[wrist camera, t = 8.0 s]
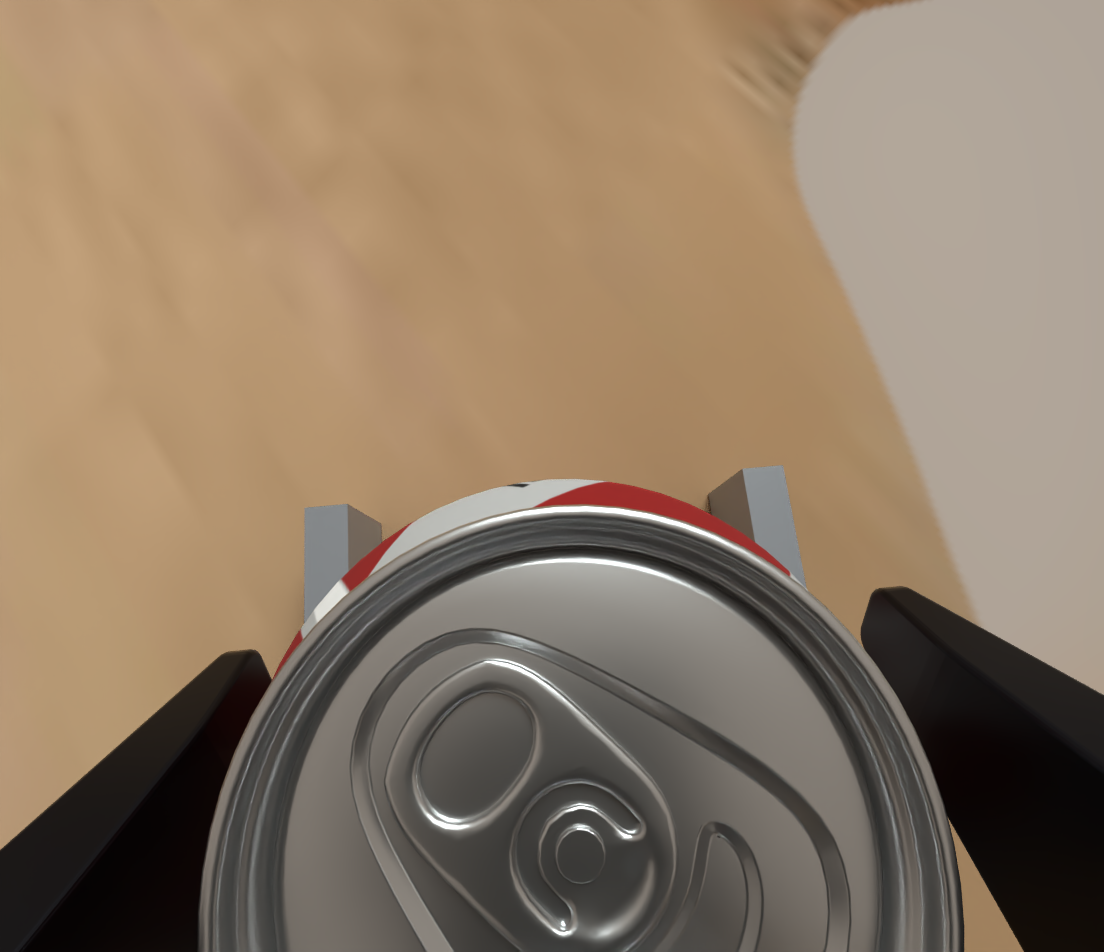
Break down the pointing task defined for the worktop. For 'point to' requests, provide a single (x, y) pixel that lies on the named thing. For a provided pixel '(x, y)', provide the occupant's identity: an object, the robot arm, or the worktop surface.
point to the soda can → (577, 752)
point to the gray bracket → (741, 502)
